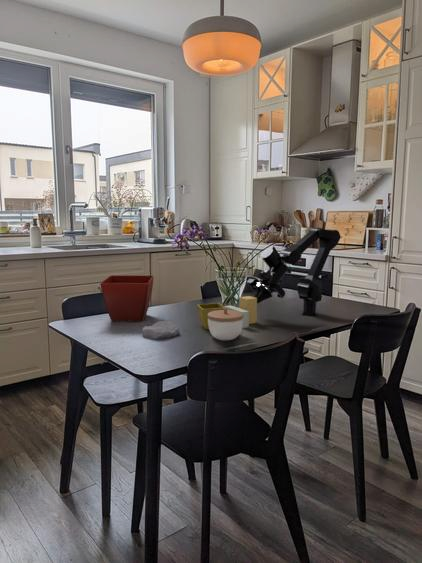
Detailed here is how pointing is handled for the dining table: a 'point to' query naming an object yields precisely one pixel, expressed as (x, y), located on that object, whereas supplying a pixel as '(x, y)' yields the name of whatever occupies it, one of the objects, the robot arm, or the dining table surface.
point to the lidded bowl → (225, 324)
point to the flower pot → (205, 309)
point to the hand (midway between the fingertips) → (253, 303)
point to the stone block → (160, 330)
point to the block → (249, 307)
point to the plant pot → (127, 296)
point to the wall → (245, 315)
